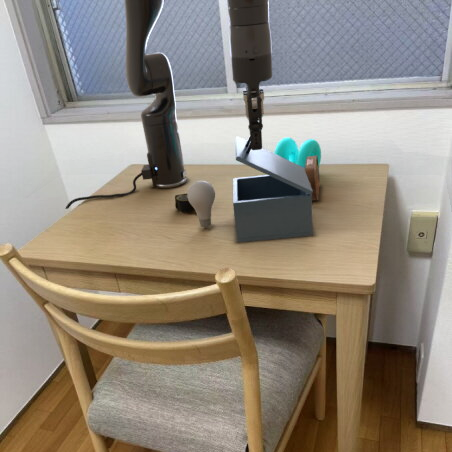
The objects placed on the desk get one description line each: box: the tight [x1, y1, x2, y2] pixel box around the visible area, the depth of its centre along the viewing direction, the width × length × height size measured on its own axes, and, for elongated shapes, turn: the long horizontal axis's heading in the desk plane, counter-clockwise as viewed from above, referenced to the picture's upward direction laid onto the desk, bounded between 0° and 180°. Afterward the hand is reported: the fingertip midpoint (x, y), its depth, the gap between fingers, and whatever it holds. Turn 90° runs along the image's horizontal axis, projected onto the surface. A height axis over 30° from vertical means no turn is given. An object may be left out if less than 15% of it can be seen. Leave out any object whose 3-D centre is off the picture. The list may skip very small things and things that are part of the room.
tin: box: [305, 155, 320, 201], centre depth 116 cm, size 15×3×8 cm, turn 168°
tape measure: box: [174, 192, 196, 214], centre depth 117 cm, size 7×7×4 cm
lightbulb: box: [187, 180, 216, 229], centre depth 105 cm, size 6×6×11 cm
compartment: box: [232, 174, 313, 243], centre depth 104 cm, size 16×15×9 cm
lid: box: [235, 135, 313, 195], centre depth 97 cm, size 17×15×5 cm
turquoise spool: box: [273, 136, 322, 170], centre depth 127 cm, size 10×10×10 cm
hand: (256, 144), depth 96 cm, fingers closed on lid, 5 cm apart
